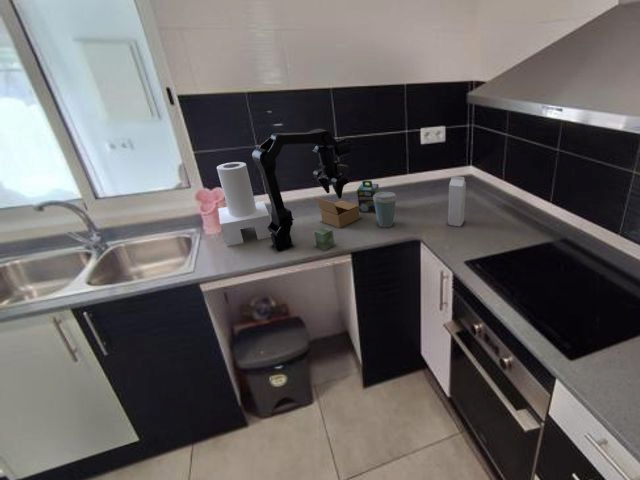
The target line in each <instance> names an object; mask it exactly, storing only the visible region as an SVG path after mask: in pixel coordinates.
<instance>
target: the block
mask: <svg viewBox="0 0 640 480" xmlns="http://www.w3.org/2000/svg"><path fill="white" fill-rule="evenodd" d="M314 238H315V243H316V244H315V245H316V248H319V249H321V250H324V251H326V250H328V249H330V248H333V247H334V246H335V239H334V232H333V229H330V228H328V227H325V226H324V227H321V228H319V229H317V230H314Z"/></svg>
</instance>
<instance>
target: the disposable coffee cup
mask: <svg viewBox="0 0 640 480" xmlns="http://www.w3.org/2000/svg"><path fill="white" fill-rule="evenodd" d="M397 199H398V195H396V193H395V192H391V191H379V193H376V194H375V195H374V196H373V200H374V205H375V210H376V212H375V215H376V221H377V224H378V226H379V227H380V228H390V227H392V226H393V224H394V218H395V210H396V203H397Z"/></svg>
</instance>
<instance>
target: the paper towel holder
mask: <svg viewBox="0 0 640 480" xmlns="http://www.w3.org/2000/svg"><path fill="white" fill-rule="evenodd" d="M216 171H217V175H218V177H219V178H218V179H219V182H220V185H221V190H222V193H223V196H224V201H225V204H226V206H225V207H219V208H217V210H218V211H217V212H218V218H219V225H220V229H221V232H222V235H223V239H224V242H225V246H226V247H230V246H234V245H239V244H244V239H243V234H242V231H241V230H245V229H249V228H254V231H255V233H256V234H255V235H256V238H257V240H259V241H260V240H265V239H269V238H271V234H272V232H270V231H269V230H268V228H267V227H268V226H269V224H270V222H271V221H272V220H271V215H270V212H269V211H268V209H267V207H266V206H267V205H266V204H265V201H264V200H260V201H255V196H254V192H253V188H252V184H251V179H250V175H249V171H248V166H247V163H246V162H242V161H232V162H226V163H222V164H219V165H217V166H216Z"/></svg>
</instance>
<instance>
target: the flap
mask: <svg viewBox="0 0 640 480" xmlns="http://www.w3.org/2000/svg"><path fill="white" fill-rule="evenodd" d="M315 200H316V202H317V205H318V207H319V209H320V210H325V211H328V212H331V213H334V214H337V215H338V212H337V210H336V207H335V204H334V203H335V202H333V201H330V200H327V199H323V198H321V197H317V196H315Z"/></svg>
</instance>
